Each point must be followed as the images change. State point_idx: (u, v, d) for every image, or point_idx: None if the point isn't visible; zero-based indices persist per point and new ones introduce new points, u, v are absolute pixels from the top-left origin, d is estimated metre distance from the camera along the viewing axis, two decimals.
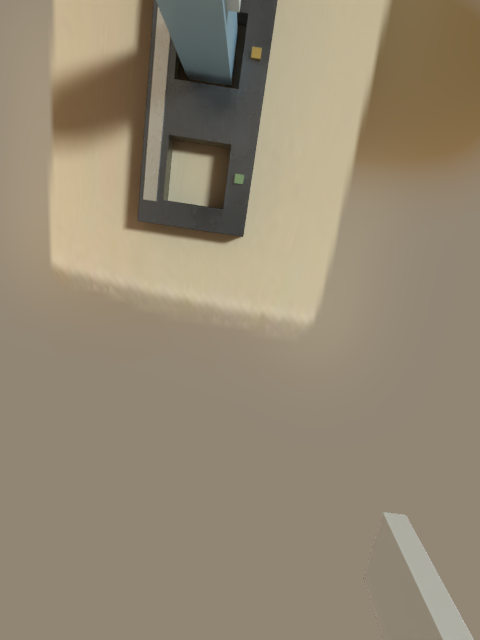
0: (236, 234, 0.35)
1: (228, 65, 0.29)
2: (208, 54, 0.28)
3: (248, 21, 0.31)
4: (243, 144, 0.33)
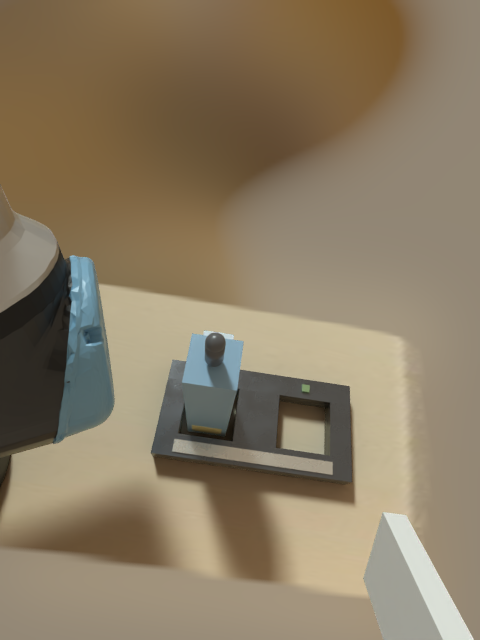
0: (348, 391, 0.41)
1: None
2: None
3: None
4: (279, 385, 0.41)
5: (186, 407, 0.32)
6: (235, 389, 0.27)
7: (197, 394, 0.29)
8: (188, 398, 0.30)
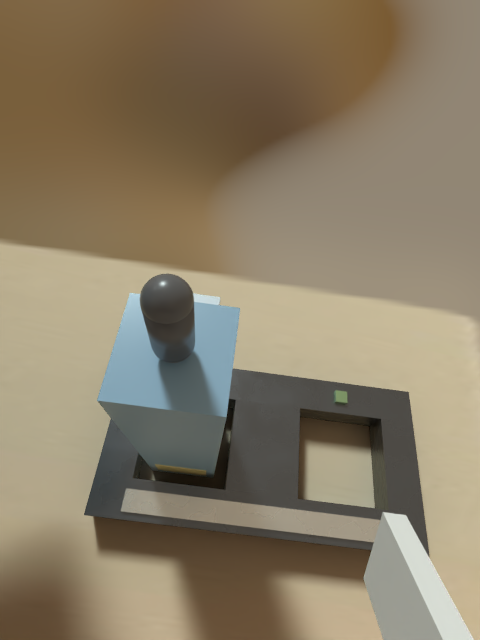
0: (408, 400, 0.26)
1: None
2: None
3: None
4: (298, 392, 0.26)
5: (133, 442, 0.17)
6: (222, 414, 0.12)
7: (143, 423, 0.13)
8: (128, 430, 0.15)
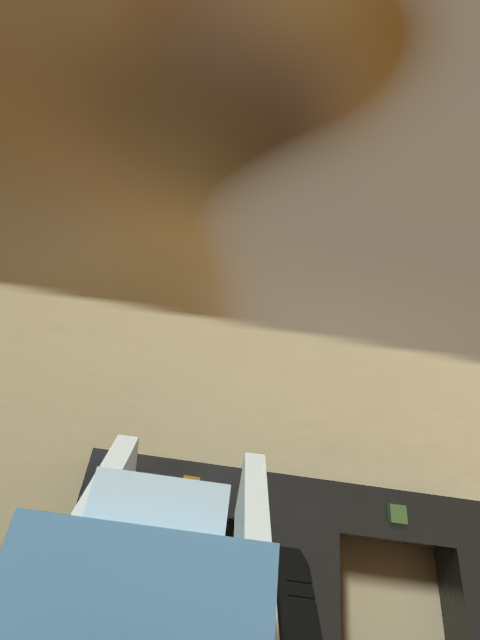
0: None
1: None
2: None
3: None
4: (336, 506, 0.18)
5: None
6: None
7: None
8: None
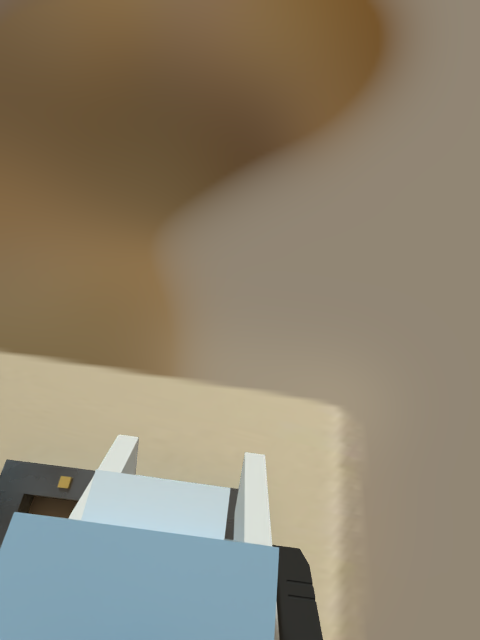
0: None
1: None
2: None
3: (31, 493, 0.28)
4: None
5: None
6: None
7: None
8: None
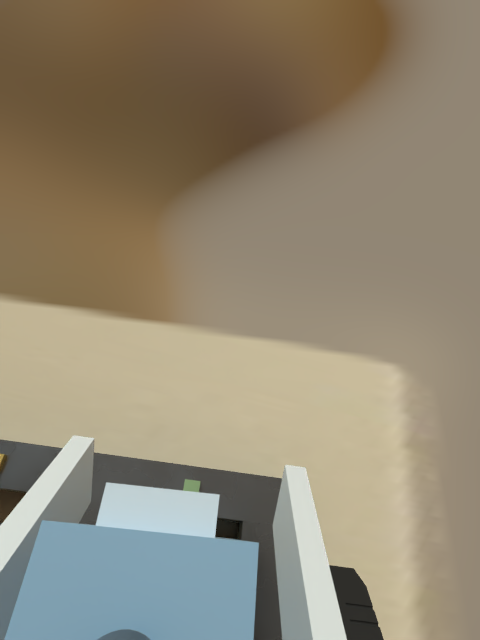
0: None
1: None
2: None
3: None
4: (134, 482, 0.19)
5: None
6: None
7: None
8: None
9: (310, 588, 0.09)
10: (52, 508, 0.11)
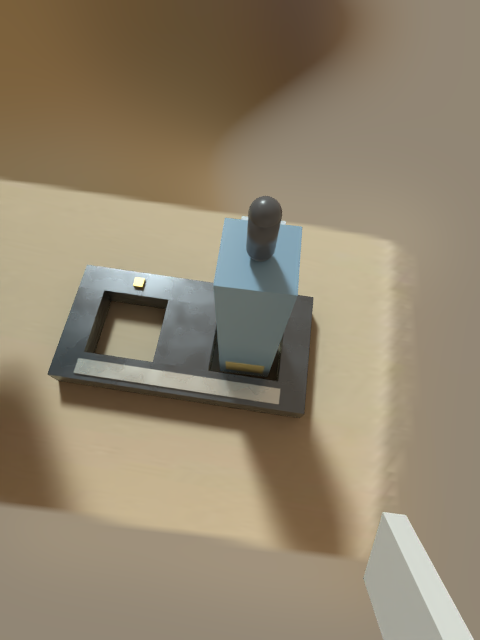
0: (311, 303, 0.32)
1: None
2: None
3: (111, 290, 0.32)
4: None
5: (219, 333, 0.23)
6: (295, 294, 0.18)
7: (235, 308, 0.20)
8: (221, 317, 0.21)
9: None
10: None
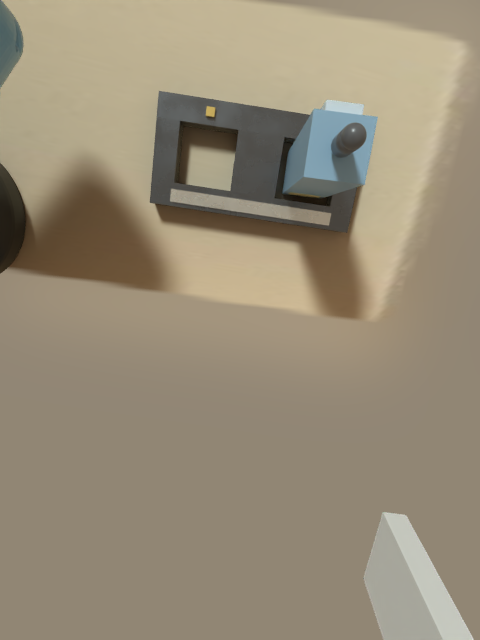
0: None
1: None
2: None
3: (185, 120, 0.35)
4: (285, 124, 0.35)
5: (293, 186, 0.30)
6: (362, 183, 0.24)
7: (314, 182, 0.26)
8: (300, 183, 0.28)
9: None
10: None
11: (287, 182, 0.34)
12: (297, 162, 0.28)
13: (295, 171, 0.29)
